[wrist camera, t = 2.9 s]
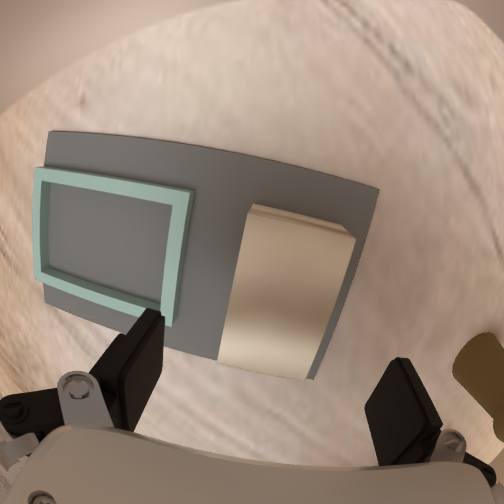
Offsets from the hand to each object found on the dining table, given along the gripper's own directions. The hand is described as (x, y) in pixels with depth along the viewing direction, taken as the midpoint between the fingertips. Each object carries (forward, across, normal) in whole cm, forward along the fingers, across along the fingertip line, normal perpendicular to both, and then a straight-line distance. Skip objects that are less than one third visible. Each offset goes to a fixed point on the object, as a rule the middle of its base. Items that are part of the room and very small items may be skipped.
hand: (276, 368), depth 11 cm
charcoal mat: (+11, +8, +1) cm, 13 cm away
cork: (+10, -22, +5) cm, 25 cm away
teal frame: (+11, +14, +1) cm, 17 cm away
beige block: (+10, 0, +1) cm, 10 cm away
